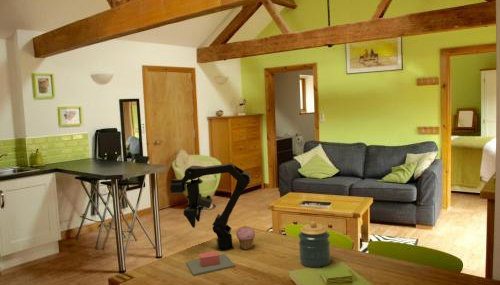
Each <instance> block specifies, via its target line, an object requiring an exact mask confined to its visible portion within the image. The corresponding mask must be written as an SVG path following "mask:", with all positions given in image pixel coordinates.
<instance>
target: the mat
mask: <svg viewBox="0 0 500 285" xmlns="http://www.w3.org/2000/svg"><path fill="white" fill-rule="evenodd" d="M219 258H220V264H218V265H212V266H205V267H201V263H200V258H198V259H193V260H188V261H185V265H186V266H187V268H188V269H189V271H190V273H191V275H192V276H193V277H195V276H200V275H204V274H208V273H213V272H218V271H223V270H226V269H231V268H235V267H236V264H235V263H234V262H233V261H232V260H231V259H230V258H229V256H227V253H226V254H225V253H221V254H219Z"/></svg>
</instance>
